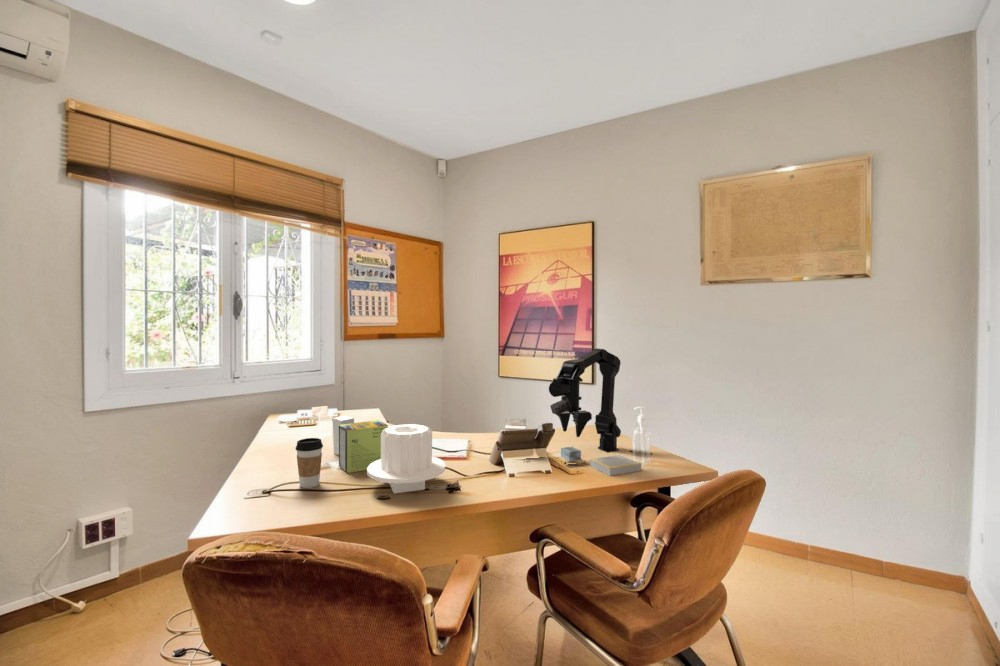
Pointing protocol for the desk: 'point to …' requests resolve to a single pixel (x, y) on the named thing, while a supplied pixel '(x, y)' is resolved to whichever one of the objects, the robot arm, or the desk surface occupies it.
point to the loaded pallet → (571, 455)
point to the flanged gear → (406, 458)
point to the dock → (615, 465)
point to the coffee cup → (309, 461)
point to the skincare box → (336, 423)
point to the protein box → (360, 444)
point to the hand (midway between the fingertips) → (571, 434)
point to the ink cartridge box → (515, 424)
